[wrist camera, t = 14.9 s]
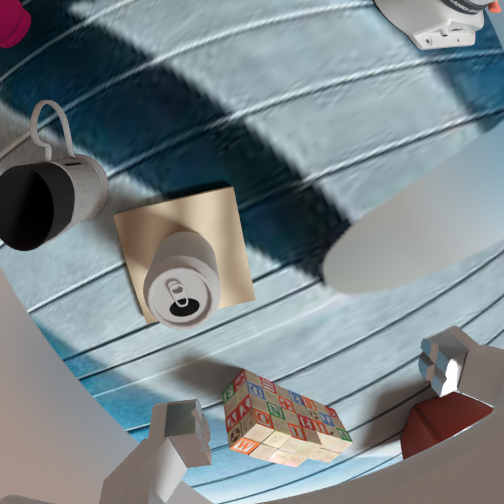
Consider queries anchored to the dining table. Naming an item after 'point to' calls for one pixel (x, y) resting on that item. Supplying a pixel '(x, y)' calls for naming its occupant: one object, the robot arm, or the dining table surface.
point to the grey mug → (49, 192)
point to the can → (183, 281)
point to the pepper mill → (13, 22)
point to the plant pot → (440, 421)
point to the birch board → (195, 221)
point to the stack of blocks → (280, 423)
